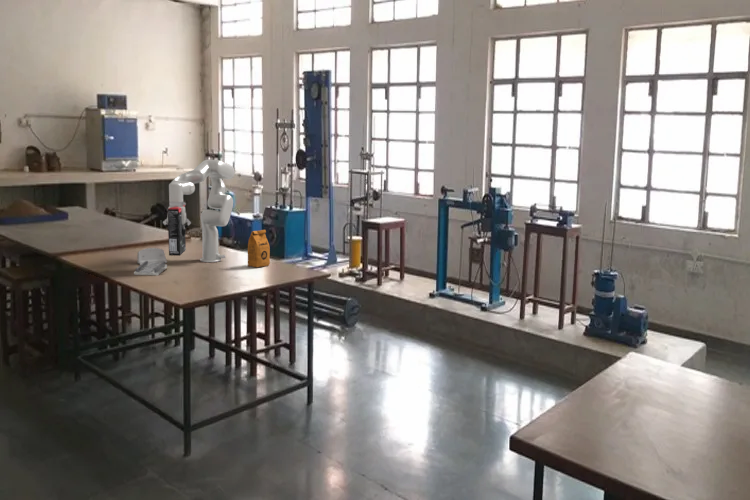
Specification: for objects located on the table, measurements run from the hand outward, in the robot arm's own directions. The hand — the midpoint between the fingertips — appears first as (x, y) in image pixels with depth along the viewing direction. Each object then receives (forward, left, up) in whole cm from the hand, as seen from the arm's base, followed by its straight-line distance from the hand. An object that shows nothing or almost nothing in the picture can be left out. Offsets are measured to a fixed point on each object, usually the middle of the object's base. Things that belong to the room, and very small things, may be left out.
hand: (177, 235), depth 387 cm
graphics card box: (0, -1, -11) cm, 11 cm away
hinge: (+19, -19, -21) cm, 34 cm away
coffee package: (-45, -16, -20) cm, 52 cm away
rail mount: (+14, +3, -20) cm, 25 cm away
